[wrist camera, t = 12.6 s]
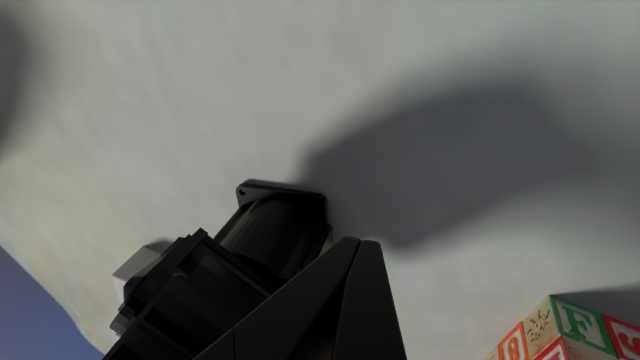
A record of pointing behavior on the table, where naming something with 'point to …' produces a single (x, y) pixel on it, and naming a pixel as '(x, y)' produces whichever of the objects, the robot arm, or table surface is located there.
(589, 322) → the stack of blocks
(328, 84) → the table surface
